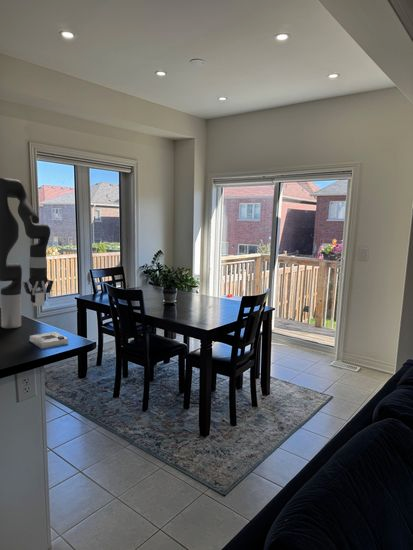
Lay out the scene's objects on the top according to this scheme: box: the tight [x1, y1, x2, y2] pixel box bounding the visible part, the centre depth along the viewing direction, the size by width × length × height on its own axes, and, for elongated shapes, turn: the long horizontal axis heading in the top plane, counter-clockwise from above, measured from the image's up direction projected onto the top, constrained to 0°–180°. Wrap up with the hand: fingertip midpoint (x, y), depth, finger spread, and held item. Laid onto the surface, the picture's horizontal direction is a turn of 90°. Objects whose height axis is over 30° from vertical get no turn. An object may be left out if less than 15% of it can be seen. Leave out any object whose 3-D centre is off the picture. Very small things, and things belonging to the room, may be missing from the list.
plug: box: [32, 289, 45, 307], centre depth 180 cm, size 4×4×7 cm
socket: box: [29, 331, 69, 350], centre depth 174 cm, size 14×12×3 cm
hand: (38, 301), depth 181 cm, fingers closed on plug, 4 cm apart
